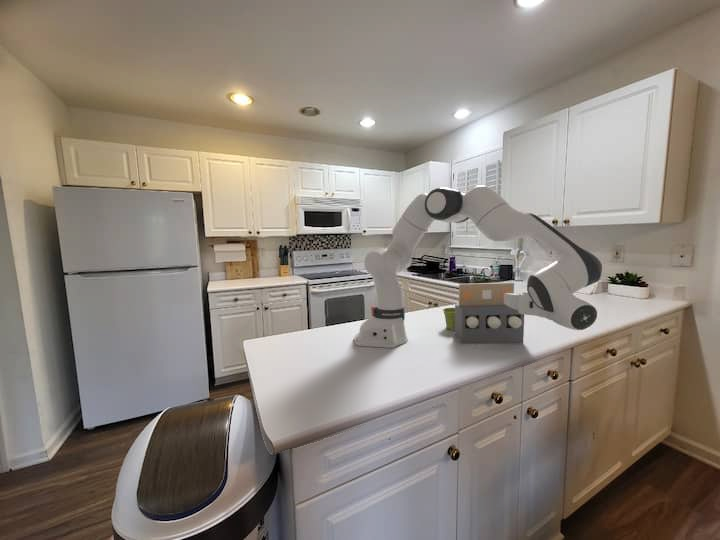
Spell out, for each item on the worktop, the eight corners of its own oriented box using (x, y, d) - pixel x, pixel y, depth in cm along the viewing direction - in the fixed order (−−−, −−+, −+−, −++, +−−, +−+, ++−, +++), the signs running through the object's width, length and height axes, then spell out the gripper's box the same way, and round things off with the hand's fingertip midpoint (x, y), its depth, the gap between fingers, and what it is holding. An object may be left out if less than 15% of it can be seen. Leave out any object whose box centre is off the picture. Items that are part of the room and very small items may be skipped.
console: (461, 344, 118) (462, 287, 115) (454, 335, 128) (455, 283, 125) (523, 343, 117) (525, 286, 114) (511, 334, 126) (513, 281, 124)
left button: (467, 328, 116) (467, 317, 115) (464, 325, 120) (464, 314, 119) (478, 328, 116) (478, 317, 115) (475, 325, 119) (475, 314, 119)
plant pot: (440, 330, 135) (440, 311, 134) (445, 324, 144) (445, 306, 143) (462, 332, 131) (462, 313, 130) (465, 326, 139) (465, 308, 138)
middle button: (489, 328, 114) (489, 317, 114) (485, 325, 118) (485, 315, 117) (500, 328, 114) (500, 317, 114) (496, 325, 118) (497, 315, 117)
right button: (510, 328, 114) (510, 317, 114) (505, 325, 118) (506, 314, 117) (521, 328, 114) (522, 317, 113) (517, 325, 117) (517, 314, 117)
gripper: (584, 293, 90) (556, 285, 104) (515, 294, 91) (497, 286, 105) (582, 313, 91) (555, 302, 105) (515, 314, 92) (496, 303, 106)
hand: (525, 294), depth 105 cm, fingers closed
